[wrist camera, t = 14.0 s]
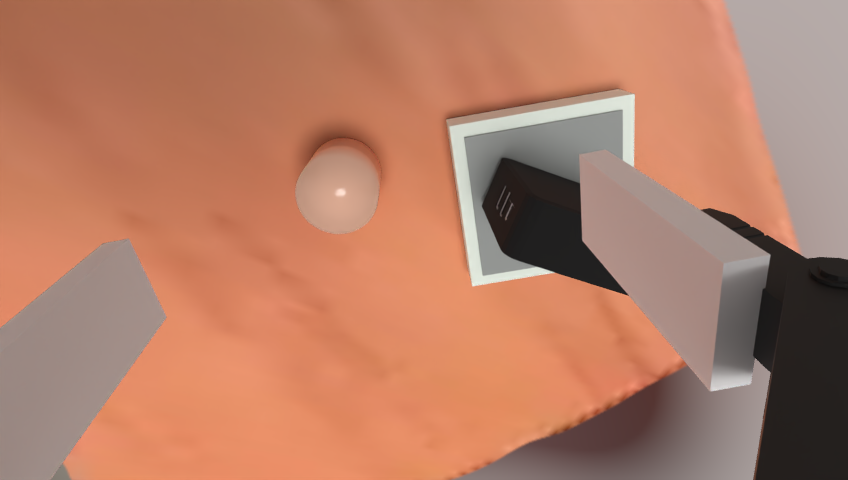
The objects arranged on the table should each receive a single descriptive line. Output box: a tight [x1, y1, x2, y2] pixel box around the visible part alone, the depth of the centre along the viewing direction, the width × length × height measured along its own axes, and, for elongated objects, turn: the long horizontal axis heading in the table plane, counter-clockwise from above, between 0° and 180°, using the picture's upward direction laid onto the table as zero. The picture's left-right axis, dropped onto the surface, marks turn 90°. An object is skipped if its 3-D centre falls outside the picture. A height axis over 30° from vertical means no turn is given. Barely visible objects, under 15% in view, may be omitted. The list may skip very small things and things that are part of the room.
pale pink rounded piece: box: [295, 138, 381, 234], centre depth 39 cm, size 6×6×6 cm
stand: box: [446, 89, 635, 286], centre depth 41 cm, size 14×14×3 cm
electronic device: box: [482, 158, 629, 296], centre depth 35 cm, size 4×10×10 cm, turn 70°
